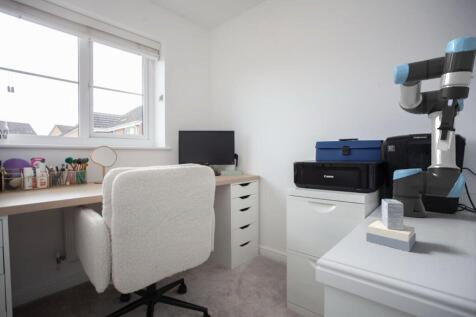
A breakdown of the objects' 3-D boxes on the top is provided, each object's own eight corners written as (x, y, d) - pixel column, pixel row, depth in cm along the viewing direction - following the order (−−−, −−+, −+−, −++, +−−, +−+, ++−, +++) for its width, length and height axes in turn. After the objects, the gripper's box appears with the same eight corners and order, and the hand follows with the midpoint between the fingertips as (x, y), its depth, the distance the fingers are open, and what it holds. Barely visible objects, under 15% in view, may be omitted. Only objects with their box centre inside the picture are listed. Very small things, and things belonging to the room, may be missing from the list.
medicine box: (403, 231, 70) (404, 203, 70) (387, 229, 71) (387, 202, 71) (395, 224, 77) (396, 199, 77) (381, 222, 79) (381, 198, 79)
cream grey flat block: (376, 233, 83) (376, 219, 83) (415, 241, 74) (415, 226, 74) (366, 240, 74) (366, 226, 74) (409, 251, 66) (409, 235, 66)
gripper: (470, 79, 64) (456, 152, 67) (469, 91, 81) (459, 149, 84) (435, 82, 69) (424, 149, 72) (442, 93, 86) (433, 147, 89)
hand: (443, 149), depth 78 cm, fingers open, 13 cm apart
